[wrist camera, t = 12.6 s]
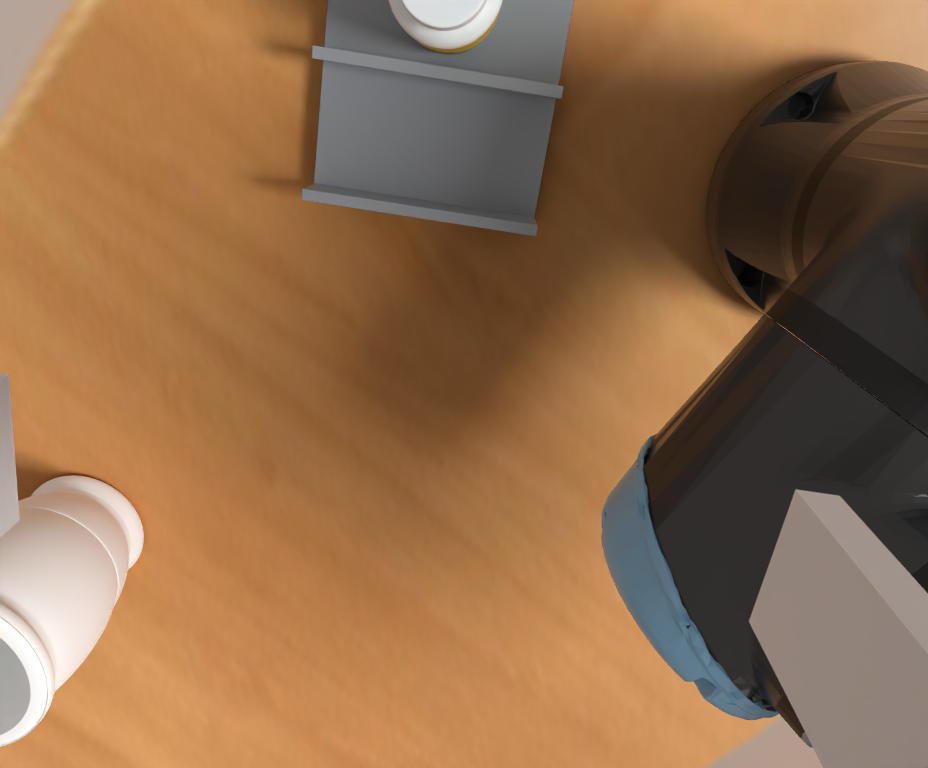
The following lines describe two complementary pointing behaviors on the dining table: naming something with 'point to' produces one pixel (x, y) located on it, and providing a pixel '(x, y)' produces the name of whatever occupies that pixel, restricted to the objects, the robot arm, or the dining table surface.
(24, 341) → the dining table surface
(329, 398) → the dining table surface
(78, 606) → the jar
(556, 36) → the rack
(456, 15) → the supplement bottle
